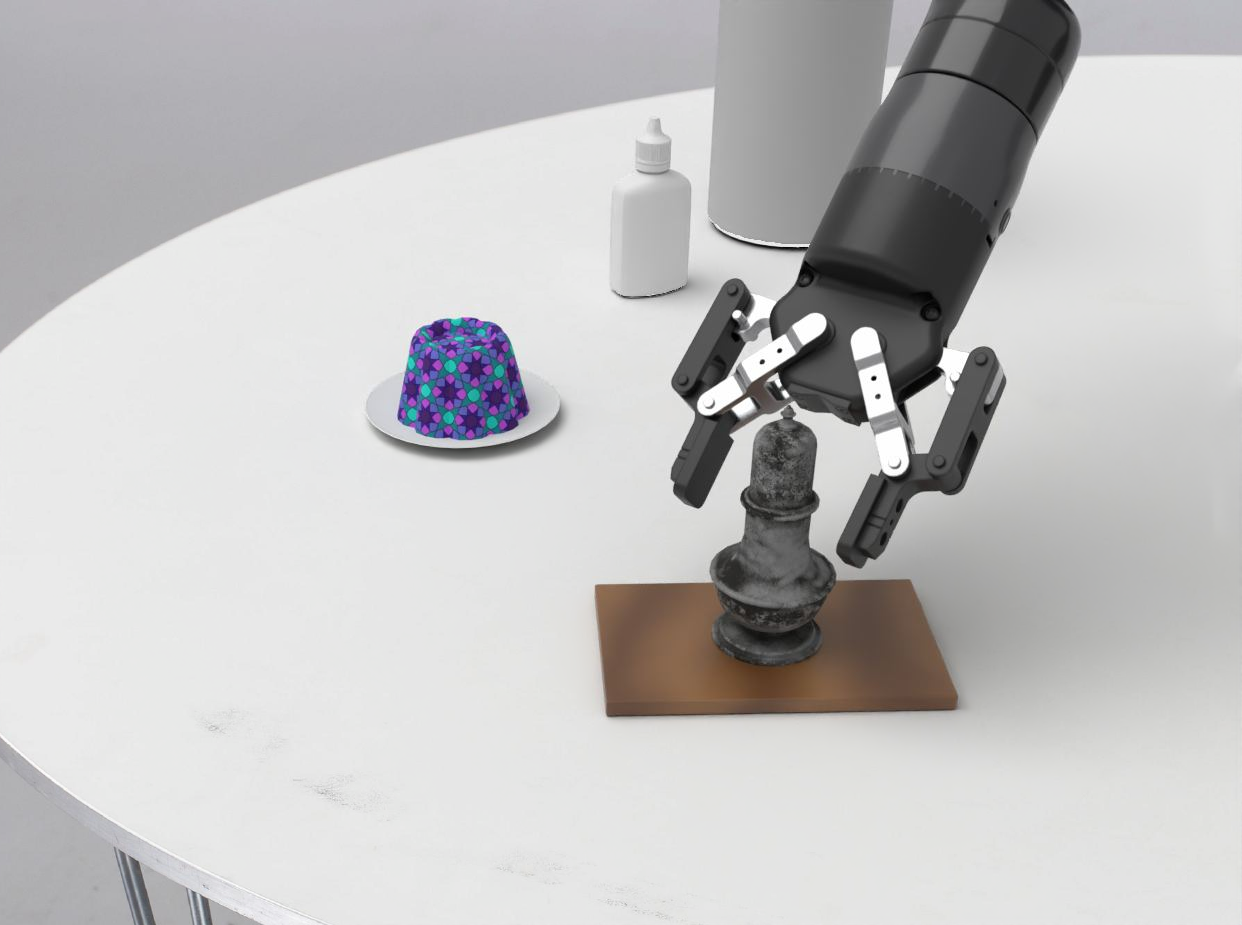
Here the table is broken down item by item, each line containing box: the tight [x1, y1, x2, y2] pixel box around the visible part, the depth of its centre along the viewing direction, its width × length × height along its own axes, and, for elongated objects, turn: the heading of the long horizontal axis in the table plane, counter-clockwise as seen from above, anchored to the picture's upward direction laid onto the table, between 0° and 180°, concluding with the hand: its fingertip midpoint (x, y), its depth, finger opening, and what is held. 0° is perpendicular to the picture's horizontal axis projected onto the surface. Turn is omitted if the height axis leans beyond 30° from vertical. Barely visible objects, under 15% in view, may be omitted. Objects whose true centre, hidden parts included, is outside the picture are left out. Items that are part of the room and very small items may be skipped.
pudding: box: [364, 316, 561, 449], centre depth 93 cm, size 12×12×5 cm
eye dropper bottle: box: [608, 115, 692, 297], centre depth 107 cm, size 4×6×12 cm
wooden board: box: [594, 578, 959, 717], centre depth 74 cm, size 16×10×1 cm, turn 92°
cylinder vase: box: [707, 0, 895, 244], centre depth 114 cm, size 12×12×25 cm
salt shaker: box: [708, 404, 837, 666], centre depth 70 cm, size 6×6×12 cm
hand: (764, 530), depth 69 cm, fingers open, 8 cm apart
